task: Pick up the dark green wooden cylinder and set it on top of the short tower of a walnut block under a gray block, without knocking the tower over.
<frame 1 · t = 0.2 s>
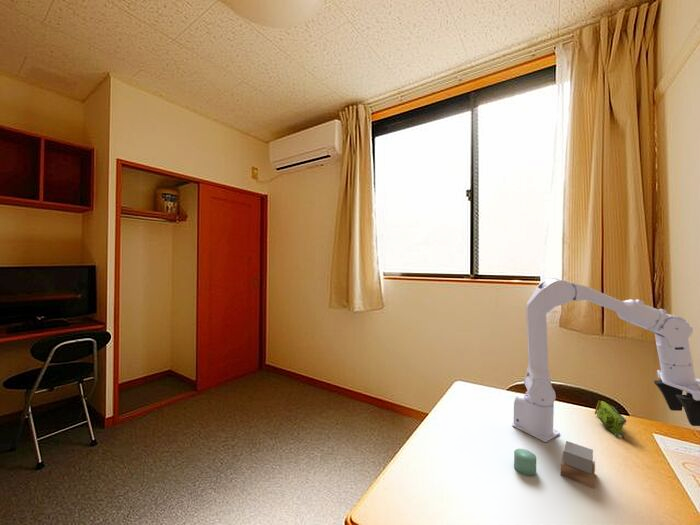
hand: (685, 417, 75), 11 cm above the table, tool pointing down, fingers open, 7 cm apart
green cylinder: (524, 469, 71), on the table
walnut block: (577, 475, 69), on the table, touching gray block
gray block: (578, 463, 69), point 3 cm above the table, touching walnut block
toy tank: (608, 432, 87), on the table
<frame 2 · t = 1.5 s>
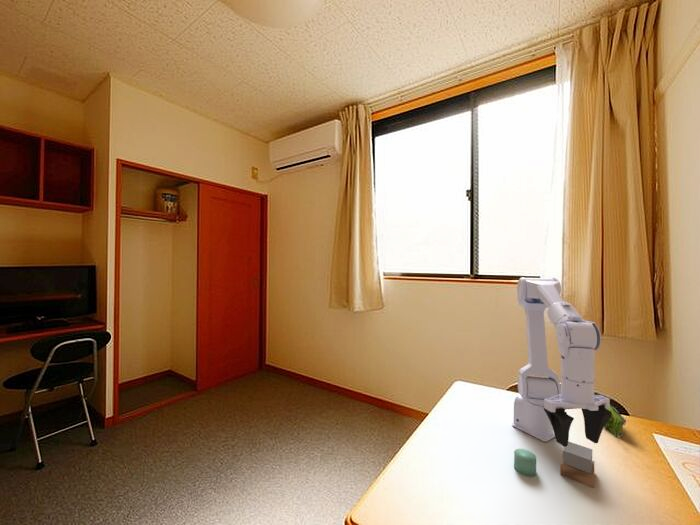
hand: (576, 442, 64), 11 cm above the table, tool pointing down, fingers open, 7 cm apart
nothing on the table moved.
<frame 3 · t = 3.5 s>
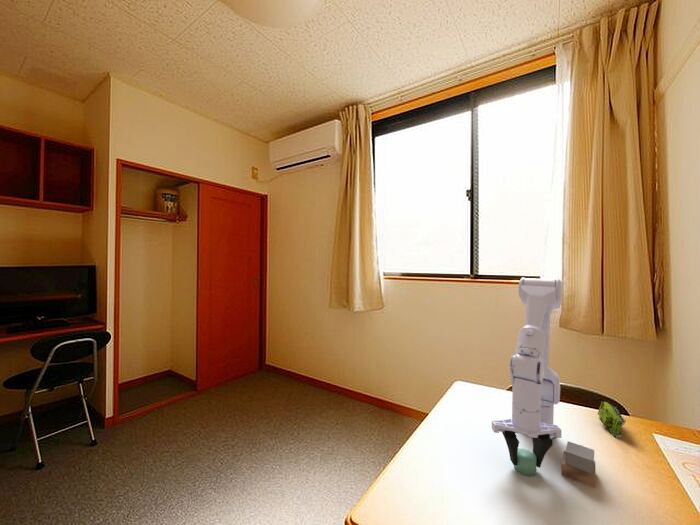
hand: (525, 463, 71), 1 cm above the table, tool pointing down, fingers closed on green cylinder, 4 cm apart
green cylinder: (524, 469, 71), on the table, touching gripper
everything else where it was.
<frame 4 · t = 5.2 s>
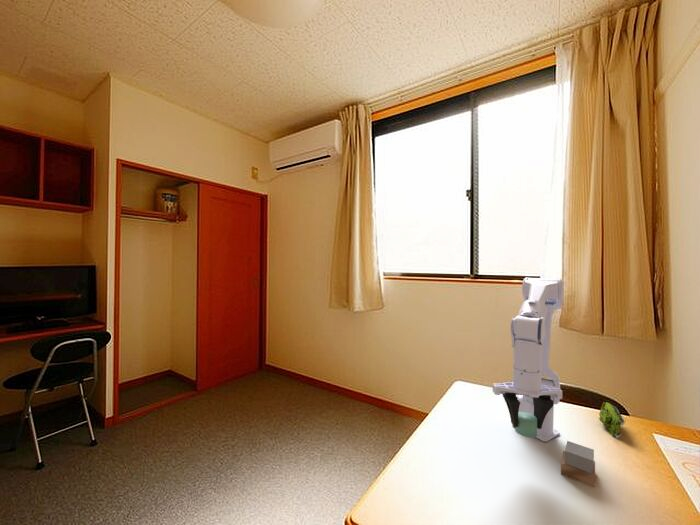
hand: (525, 425, 71), 10 cm above the table, tool pointing down, fingers closed on green cylinder, 4 cm apart
green cylinder: (525, 431, 71), point 9 cm above the table, touching gripper
walnut block: (577, 475, 70), on the table
gray block: (579, 463, 69), point 3 cm above the table
everything else where it was.
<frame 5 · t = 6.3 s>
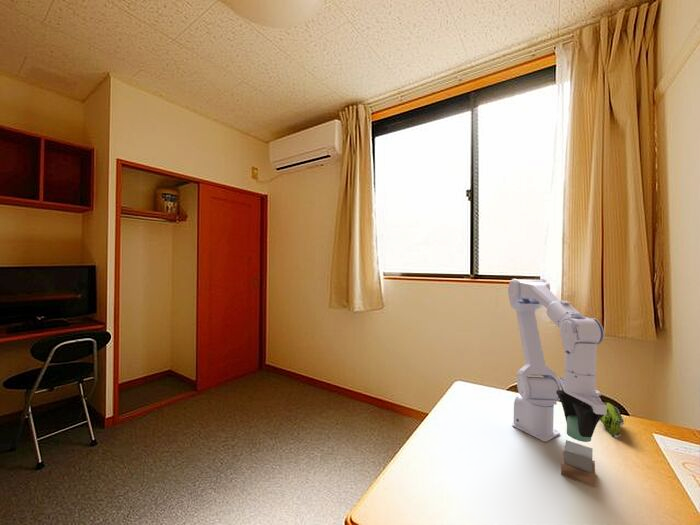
hand: (578, 429, 69), 10 cm above the table, tool pointing down, fingers closed on green cylinder, 4 cm apart
green cylinder: (578, 435, 69), point 9 cm above the table, touching gripper
walnut block: (577, 475, 70), on the table, touching gray block
gray block: (578, 462, 70), point 3 cm above the table, touching walnut block
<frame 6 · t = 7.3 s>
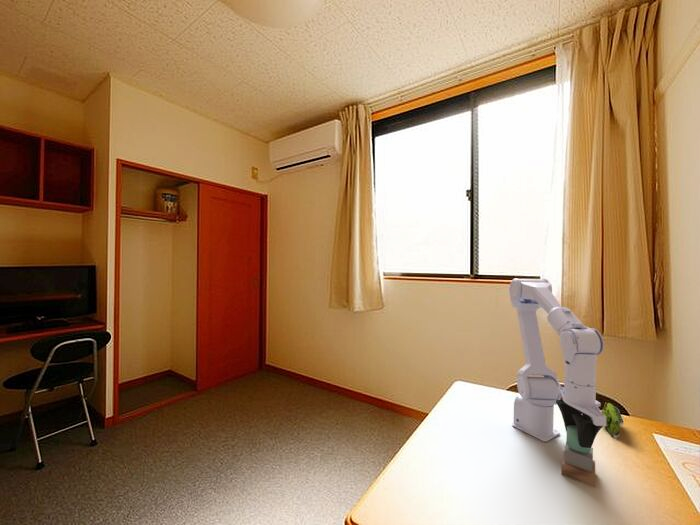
hand: (578, 439, 69), 8 cm above the table, tool pointing down, fingers closed on green cylinder, 4 cm apart
green cylinder: (578, 446, 69), point 7 cm above the table, touching gripper
when the fingers open (8 cm above the table, at t = 7.4 s): green cylinder stays where it is, resting on gray block.
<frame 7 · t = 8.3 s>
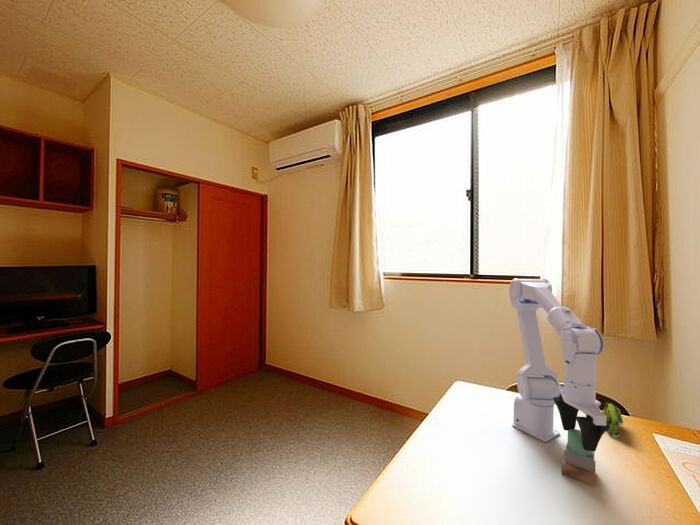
hand: (578, 439, 69), 8 cm above the table, tool pointing down, fingers open, 7 cm apart
green cylinder: (579, 450, 69), point 6 cm above the table, touching gray block
gray block: (579, 461, 70), point 3 cm above the table, touching green cylinder, walnut block
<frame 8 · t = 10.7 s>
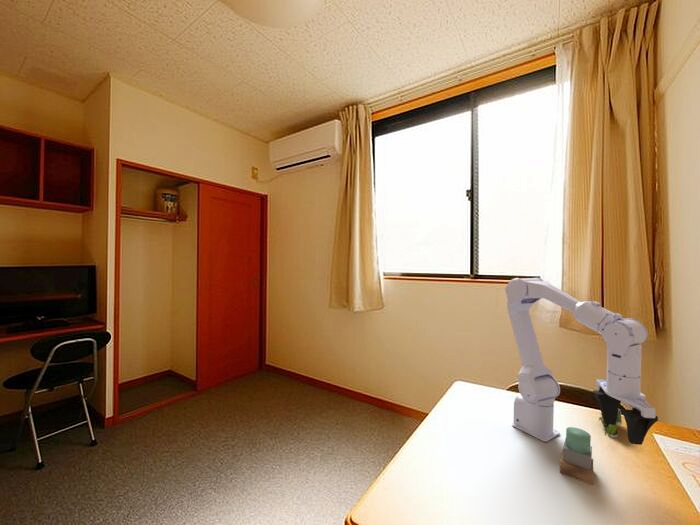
hand: (621, 433, 68), 10 cm above the table, tool pointing down, fingers open, 7 cm apart
at the end: green cylinder 0.4 cm off-centre on the gray block, point 3.0 cm above the gray block's base; gray block moved 1.4 cm from its start; green cylinder tilted 0° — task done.
